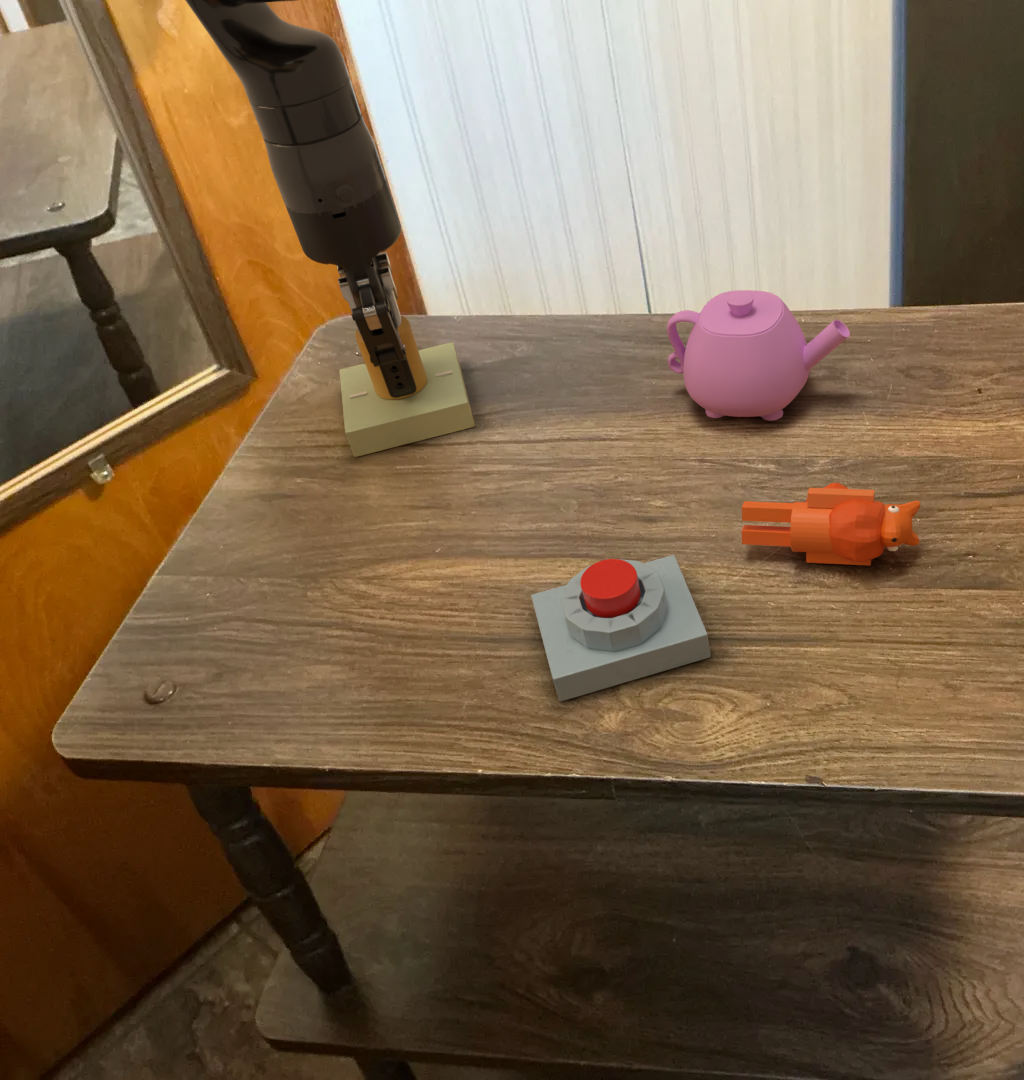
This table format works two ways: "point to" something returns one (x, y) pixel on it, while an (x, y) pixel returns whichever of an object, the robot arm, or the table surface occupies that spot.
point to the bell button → (610, 588)
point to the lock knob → (411, 356)
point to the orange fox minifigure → (833, 525)
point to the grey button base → (620, 632)
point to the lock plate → (406, 405)
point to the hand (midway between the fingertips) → (401, 376)
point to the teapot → (747, 354)
